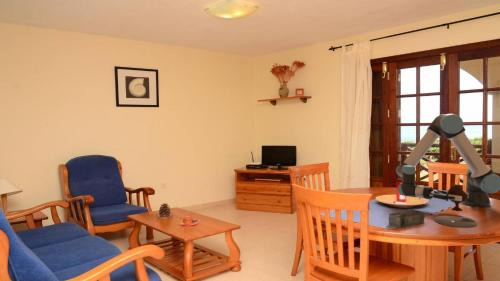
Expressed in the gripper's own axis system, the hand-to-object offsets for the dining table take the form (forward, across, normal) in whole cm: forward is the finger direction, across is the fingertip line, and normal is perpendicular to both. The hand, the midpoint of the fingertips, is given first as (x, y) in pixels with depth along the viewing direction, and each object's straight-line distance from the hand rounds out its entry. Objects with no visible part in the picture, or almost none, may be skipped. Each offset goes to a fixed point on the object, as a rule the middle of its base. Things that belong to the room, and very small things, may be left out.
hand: (465, 197), depth 206 cm
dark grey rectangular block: (-17, +38, -11) cm, 43 cm away
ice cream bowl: (-4, 0, -8) cm, 9 cm away
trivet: (0, +17, -11) cm, 20 cm away
